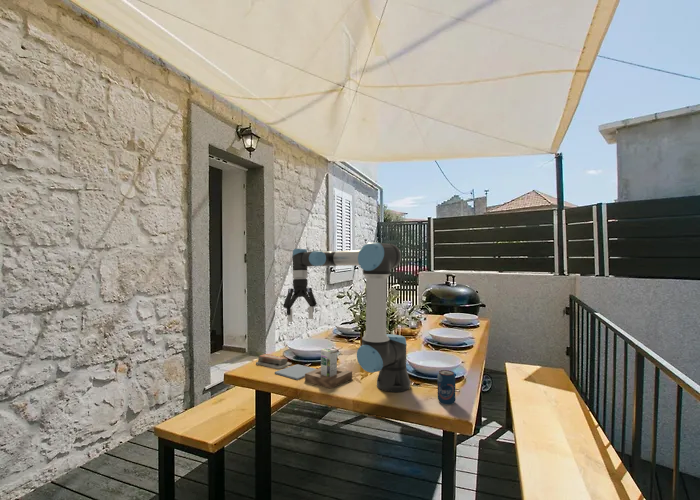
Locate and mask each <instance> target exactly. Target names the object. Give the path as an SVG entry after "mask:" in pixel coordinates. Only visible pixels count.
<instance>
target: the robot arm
mask: <svg viewBox="0 0 700 500" xmlns="http://www.w3.org/2000/svg"><path fill="white" fill-rule="evenodd" d="M291 258H292V278H293V279H292V286H293V287H291V288H290V287H289V288H288V289H287V295H286V297H285V299H284V303H283V306H282V307H283V308H284V309H286V315H287V322H288V323H293V308H292V307H293V305H294V304H295V302H296V300H297V298H302V297H303V298H304V300H305V301H306V303H307V304H308V309H307V310H308V314H307V315H308V320H313V319H314V312H315V310H314V309H315V307H316V306H317V304H318V303H317V301H316V299H315V296H314V293H313V288H312V287H308V285H309V284H308V283H309V282H308V280H309V279H308V268H309V267H337V266H340V267H341V266H343V267H345V266H360V267H359V268H361V269H362V274H363V276H364V277H365V278H366V279H365V280H366V286H365V288H366V291H365V292H366V293H365V296H366V297H365V300H366V301H365V304H366V305H365V334H364V335H363V336H362V337H361V339H362V340H361V345H360V346H359V348H357V350H356V360H357V362H358V365H359V366H360V367H361V369H363V370H364V371H365V372H367V373H371V374H372V373H376V372H379V373H378V375H377V379H376V387H377V388H378V389H379V390H381V391H385V392H389V393H401V392H406V391H409V390H410V389H411V379H410V376H409V373H408V370H407V339H406V337H405V336H403V335H401V334H400V335H399V334H393V333H390V334H389V333H387V286H388V285H387V281H388V280H387V279H388V277H390V276H391V270H392V269H395V268H396V267H398V265H400V263H401V261H402V260H401V259H402V252H401V250H400V249H399V247H397V245H395V244H393V243H383V242H368V243H365V244H364V245H362V247H361V248H360V249H357V250H356V249H355V250H339V251H338V250H337V251H336V250H335V251H322V250H311V251H308V249H307V248H294V249H292V257H291Z"/></svg>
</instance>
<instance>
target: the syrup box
mask: <svg viewBox="0 0 700 500" xmlns="http://www.w3.org/2000/svg"><path fill="white" fill-rule="evenodd" d="M320 368H321V375H324V376H328V377H332V376H334V375H336V374H337V368H338V349H334V348H331V347H325V348H323V349H320Z"/></svg>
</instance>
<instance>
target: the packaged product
mask: <svg viewBox="0 0 700 500" xmlns="http://www.w3.org/2000/svg"><path fill="white" fill-rule="evenodd" d="M257 360H258V361H256V362H255V365H259V366H263V367H268V368H272V369H277V370H282V369H285V368H288V367H290V366H292V365H291V364H292V362H289V361H288V360H289V359H288V358H287V357H282V356H279V355H274V354H268V353H264V354H261V355H258V359H257Z"/></svg>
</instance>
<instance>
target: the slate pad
mask: <svg viewBox="0 0 700 500" xmlns="http://www.w3.org/2000/svg"><path fill="white" fill-rule="evenodd" d="M316 369H317V368H314V367H310V366H305V365H301V364H299V363H298V364H294V365H290V366H287V367H284V368H282V369H278V370H276V371H274V374H276V375H279V376H282V377H285V378H288V379H293V380H295V381H296V380H297V381H298V380H302V379H305V374H306V373H308V372H311V371H313V370H316Z"/></svg>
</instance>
